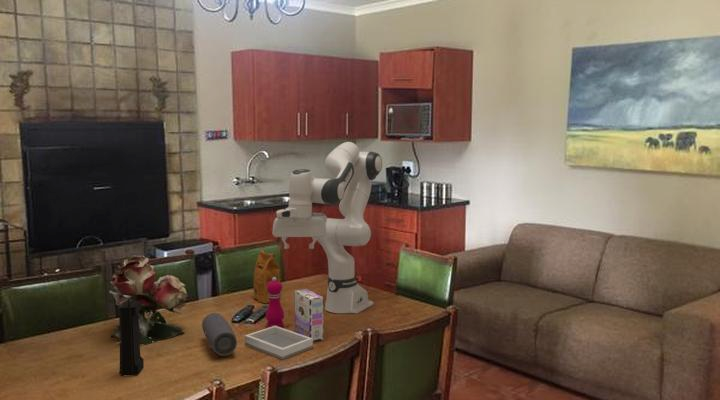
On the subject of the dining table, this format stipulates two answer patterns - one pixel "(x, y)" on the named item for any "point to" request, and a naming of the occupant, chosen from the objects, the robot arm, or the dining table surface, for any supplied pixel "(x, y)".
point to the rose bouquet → (148, 298)
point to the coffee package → (264, 275)
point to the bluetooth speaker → (219, 334)
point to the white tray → (279, 342)
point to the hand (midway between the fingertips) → (299, 248)
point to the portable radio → (130, 339)
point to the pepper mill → (274, 304)
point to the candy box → (308, 314)
